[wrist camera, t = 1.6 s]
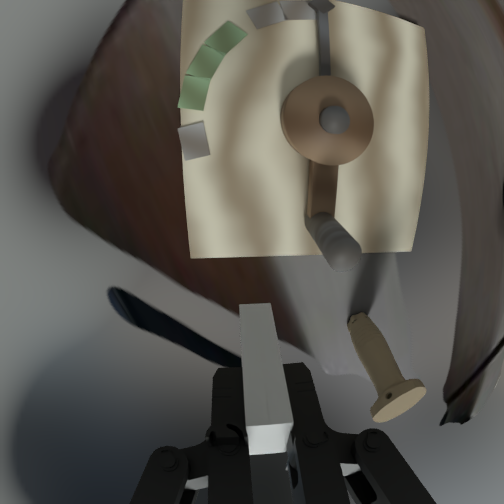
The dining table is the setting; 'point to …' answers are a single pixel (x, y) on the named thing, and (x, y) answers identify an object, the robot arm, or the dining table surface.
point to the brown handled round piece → (327, 144)
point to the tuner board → (271, 135)
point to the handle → (383, 370)
